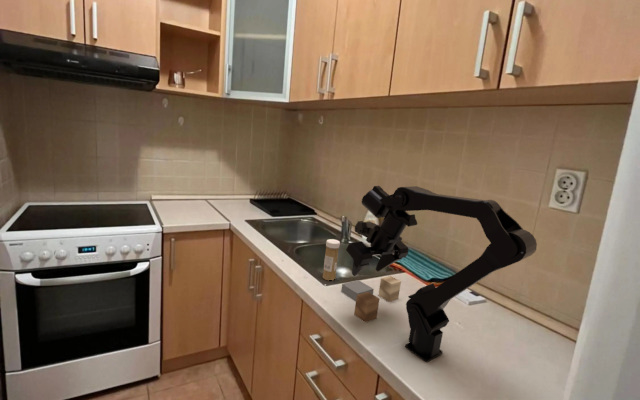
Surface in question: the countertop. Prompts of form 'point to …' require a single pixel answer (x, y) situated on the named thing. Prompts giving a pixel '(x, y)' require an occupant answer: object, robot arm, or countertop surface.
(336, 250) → the sprinkles bottle
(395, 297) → the maple block
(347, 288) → the tile block
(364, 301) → the walnut block
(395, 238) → the robot arm
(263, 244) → the countertop surface
